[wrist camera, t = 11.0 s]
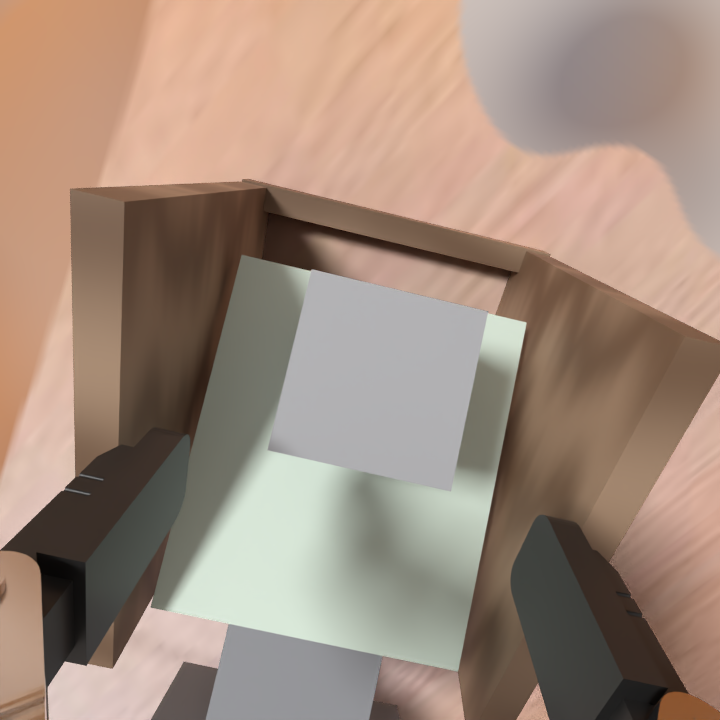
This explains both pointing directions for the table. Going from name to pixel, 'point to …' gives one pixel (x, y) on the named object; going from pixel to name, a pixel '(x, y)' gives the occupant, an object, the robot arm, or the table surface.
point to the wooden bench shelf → (527, 410)
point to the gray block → (379, 381)
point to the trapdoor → (318, 535)
